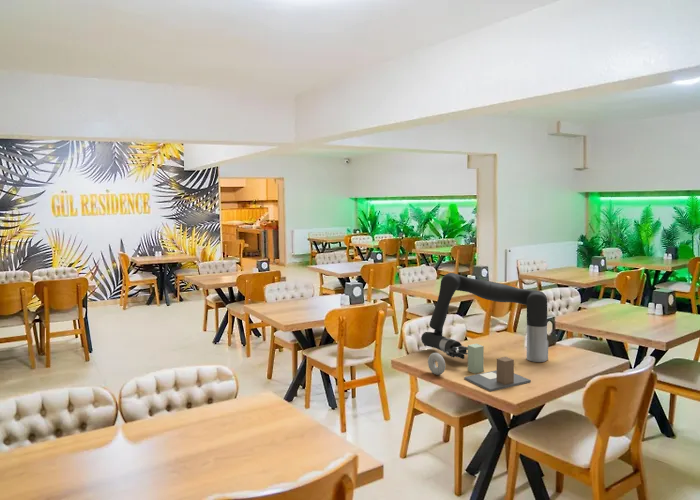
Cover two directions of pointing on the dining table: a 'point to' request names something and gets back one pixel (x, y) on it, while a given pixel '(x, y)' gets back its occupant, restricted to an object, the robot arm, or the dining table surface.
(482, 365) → the green pillar
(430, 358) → the donut
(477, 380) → the build plate
